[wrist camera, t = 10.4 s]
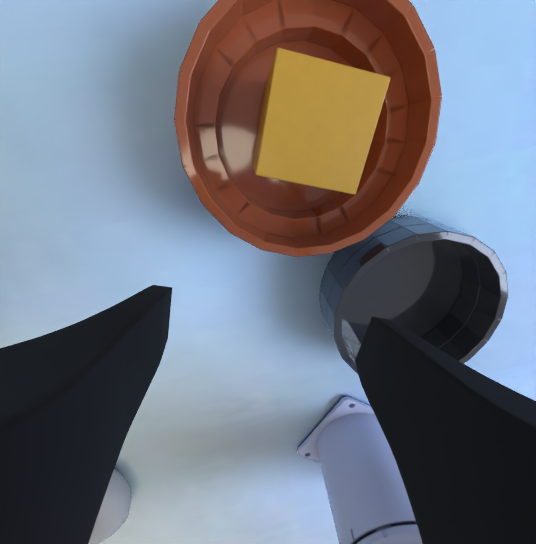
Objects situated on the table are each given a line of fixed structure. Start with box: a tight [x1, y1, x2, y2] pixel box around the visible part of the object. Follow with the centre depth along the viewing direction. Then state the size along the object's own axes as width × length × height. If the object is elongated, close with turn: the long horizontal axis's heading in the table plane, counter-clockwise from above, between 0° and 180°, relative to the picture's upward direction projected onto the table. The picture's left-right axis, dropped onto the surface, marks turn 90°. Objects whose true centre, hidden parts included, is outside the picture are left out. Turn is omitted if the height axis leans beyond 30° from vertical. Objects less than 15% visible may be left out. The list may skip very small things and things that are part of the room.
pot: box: [320, 217, 508, 373], centre depth 20 cm, size 11×11×4 cm
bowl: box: [174, 0, 442, 257], centre depth 15 cm, size 12×12×4 cm
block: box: [252, 48, 390, 194], centre depth 14 cm, size 4×4×6 cm
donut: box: [88, 469, 132, 544], centre depth 27 cm, size 10×4×10 cm
